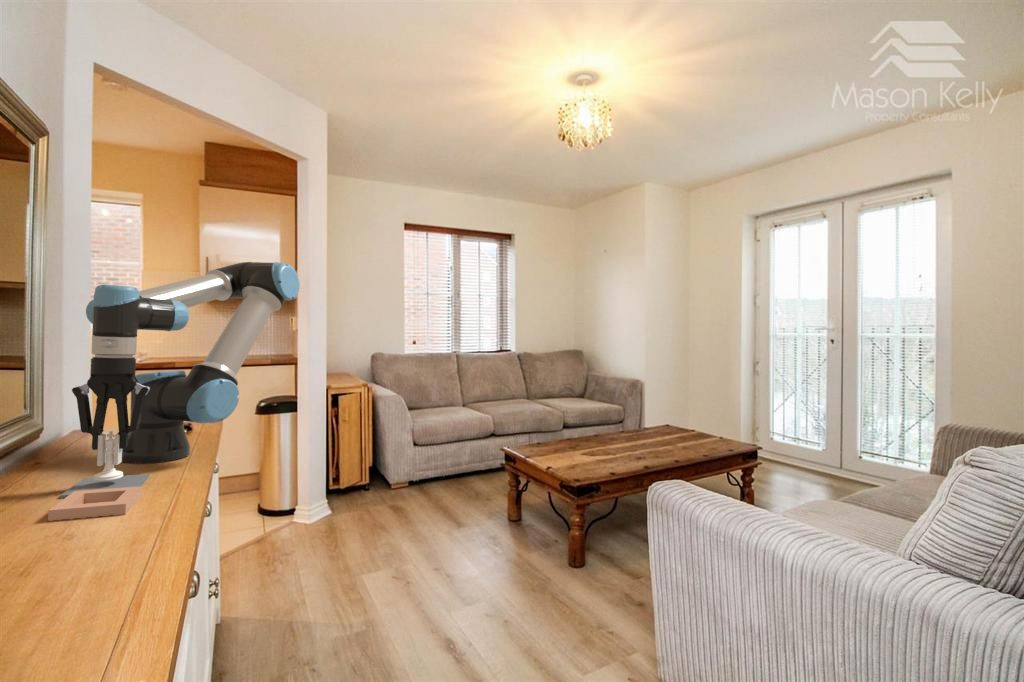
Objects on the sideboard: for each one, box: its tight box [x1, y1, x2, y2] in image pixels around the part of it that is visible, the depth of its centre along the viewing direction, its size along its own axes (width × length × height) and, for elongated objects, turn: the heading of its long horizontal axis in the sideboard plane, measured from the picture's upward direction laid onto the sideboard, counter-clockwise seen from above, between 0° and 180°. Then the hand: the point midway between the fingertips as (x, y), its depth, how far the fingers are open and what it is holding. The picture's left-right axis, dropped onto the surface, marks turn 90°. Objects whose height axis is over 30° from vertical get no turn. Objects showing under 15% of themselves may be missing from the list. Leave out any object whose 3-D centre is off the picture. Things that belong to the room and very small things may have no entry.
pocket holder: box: [47, 485, 144, 522], centre depth 91 cm, size 11×11×2 cm
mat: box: [59, 473, 151, 499], centre depth 103 cm, size 12×12×1 cm
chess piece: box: [93, 431, 124, 481], centre depth 103 cm, size 5×5×10 cm
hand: (109, 463), depth 103 cm, fingers closed on chess piece, 2 cm apart
